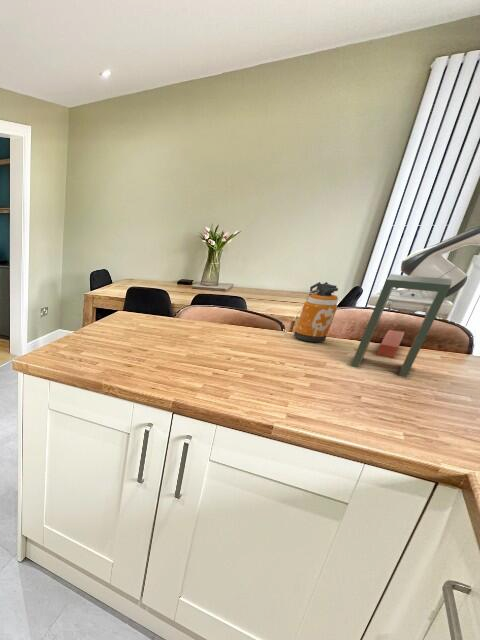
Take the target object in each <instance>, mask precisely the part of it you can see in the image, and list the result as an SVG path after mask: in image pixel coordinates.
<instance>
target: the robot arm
mask: <svg viewBox="0 0 480 640" xmlns="http://www.w3.org/2000/svg"><path fill="white" fill-rule="evenodd" d="M465 246H479V247H480V225H478V226H476V227H473V228H471V229H468V230H466V231H464V232H461V233H459V234H457V235H454V236H452V237H450V238H447V239H445V240H442V241H440V242H438V243H436V244H433V245H431V246H428V247H426V248H422V249H419V250H417V251H414V252H412V253H410V254H409V255H408V256H406V257H405V258H404V259H403V260H402V261H401V263H400V272H402V273H403V274H405V275H407V276H419V277H432V278H444V279H452V282H451V286H450V288H449V290H448V292H447V294H446V296H445V299H444V301H443V303H442V305H441V307H440V309H439V311H438V313H437V315H449V314H450V312H451V310H452V309H453V308H454V304H453V302H451V301H450V300H446V298H448V297H450V296H452V295H454V294H456V292H458V291H459V290H461V289H462V288H463V287H464V286H465V285H466V283H467V280H468V277H469V276H468V275H467V273H465V272H464V271H463V270H461V269H460V268H459V267H458V266H456V265H455V264H453V263H452V262H451V261H450V260H448V259H447V258H446V257H445V256H444V255H445V254H448V253H451V252H453V251H455V250H458V249H460V248H463V247H465ZM382 289H383V288H381V289H380V290H378V291H376V292H374V293H372V294H371V295H370V297H369V300H368V302H367V305H368V306H373V307H375V306H376V303H377V301H378V299H379V296H380V294H381V291H382ZM436 293H437V292H434V291H424V290H413V289H403V288H393V289H392V292H391V294H390V296H389V299H388V301H387V303H386V306H385V308H384V309H390V310H392V311H396V312H399V313H402V312H403V313H402V314H413V313H417V312H422V313H427V312H428V310H429V308H430V306H431V303H432V301H433V299H434V297H435V295H436Z"/></svg>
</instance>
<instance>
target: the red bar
mask: <svg viewBox="0 0 480 640" xmlns="http://www.w3.org/2000/svg"><path fill="white" fill-rule="evenodd" d="M404 335H405V331H401V330H400V331H399V330H394V329H393V330H392V329H388V330H387V332H386V334H385V336H384V337H383V339H382V341H381V342H380V345H379V347H378V349H377V352H376V353H375V355H376V356H383V357H387V358H392V359H393V358H394V357H395V355H396V353H397V351H398V349H399V346H400V345H401V343H402V340H403V338H404Z"/></svg>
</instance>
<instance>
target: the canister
mask: <svg viewBox="0 0 480 640" xmlns="http://www.w3.org/2000/svg"><path fill="white" fill-rule="evenodd" d="M309 288H310V289H309V292H308V293H309V295H308V296H307V300H306V301H305V302H304V304H303V306H302V310H301V312H300V315H299V318H298V321H297V325H296V327H295V331H294V333H293V336H294V337H295V338H297V339H298V340H300V341H304V342H308V343H319V342H324V341H326V339H327V336H328V334H329V331H330V329H331V325H332V324H333V321H334V318H335V314H336V313H337V309H338V305H337V303H338V300H339V297H338V296H337V295H335V294H334V293H335V292H338V291H339V288H338V286H337V285H334V284H330V283H328V281H326V282H324V283H321V281H319V282H317V283H315V284H313V285H311V286H310V287H309ZM314 288H315V289H314Z"/></svg>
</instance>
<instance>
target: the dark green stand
mask: <svg viewBox="0 0 480 640" xmlns="http://www.w3.org/2000/svg"><path fill="white" fill-rule="evenodd" d="M451 282H452V279H444V278H432V277H419V276H408V275H406V274H405V275H404V274H393V273H391V274H389V276H388V277H387V278H386V279H385V282H384V284H383V287H382V288H381V289H382V291H381V294H380V296H379V299H378V301H377V303H376V306H374V309H373V311H372V313H371V316H370V318H369V321H368V323H367V325H366V328H365V329H364V332H363V335H362V336H361V337H362V338H361V339H360V342H359V344H358V347H357V348H356V349H357V350H356V352H355V354H354V357H353V358H352V361H351V364H350V366H351V367H354V368H358V367H359V366H360V364H361V362H362V361H363V359H364V357H365V355H366V352H367V350H368V349H369V348H368V347H369V346H370V343H371V341H372V339H373V336H374V334H375V332H376V329H377V327H378V324H379V322H380V320H381V317H382V315H383V312H384V310H385V309H386V308H385V306H386V303H387V301H388V299H389V296H390V294H391V292H392V289H400V288H403V289H413V290H424V291H434V292H437V293H436V295H435V297H434V299H433V301H432V303H431V306H430V308H429V310H428V312H426V314H425V316H424V318H423V320H422V322H421V325H420V327H419V329H418V330H417V333H416V335H415V338H414V339H413V341H412V344H411V345H410V347H409V350H408V352H407V354H406V356H405V358H404V360H403V362H402V364H401V367H400V370H399V373H398V376H399V377H404V378H407V377H408V374H409V372H410V370H411V368H412V366H413V364H414V362H415V360H416V358H417V356H418V355H419V352H420V350H421V349H422V345H423V344H424V342H425V340H426V338H427V336H428V334H429V331H430V329H431V328H432V325H433V323H434V321H435V319H436V317H437V315H438V314H437V313H438V311H439V309H440V307H441V305H442V303H443V301H444V300H446V298H445V296H446V294H447V292H448V290H449V288H450V286H451Z"/></svg>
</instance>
